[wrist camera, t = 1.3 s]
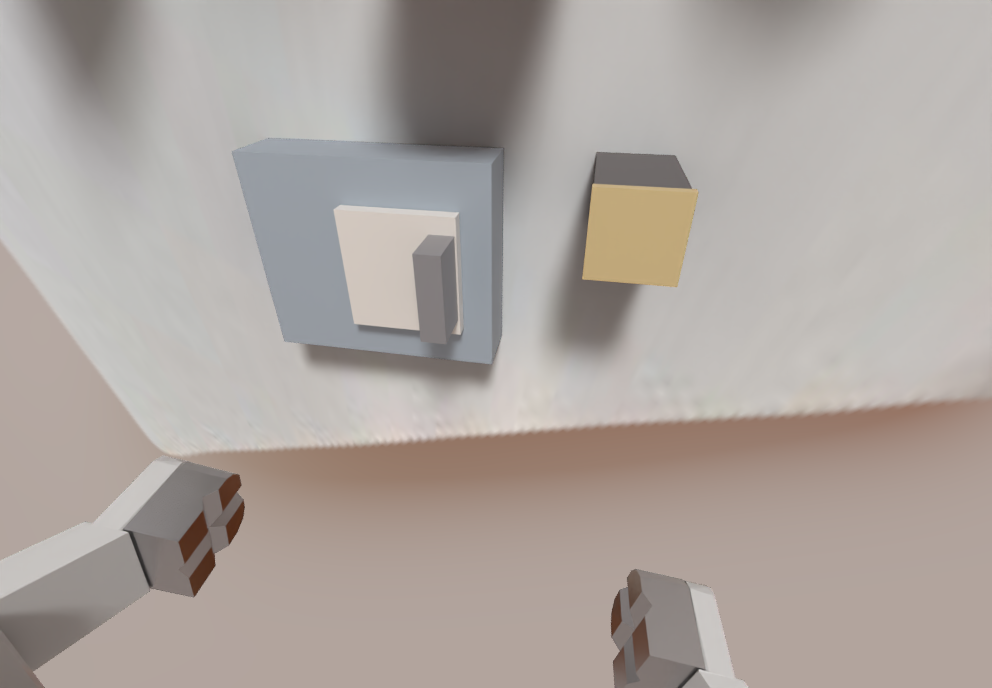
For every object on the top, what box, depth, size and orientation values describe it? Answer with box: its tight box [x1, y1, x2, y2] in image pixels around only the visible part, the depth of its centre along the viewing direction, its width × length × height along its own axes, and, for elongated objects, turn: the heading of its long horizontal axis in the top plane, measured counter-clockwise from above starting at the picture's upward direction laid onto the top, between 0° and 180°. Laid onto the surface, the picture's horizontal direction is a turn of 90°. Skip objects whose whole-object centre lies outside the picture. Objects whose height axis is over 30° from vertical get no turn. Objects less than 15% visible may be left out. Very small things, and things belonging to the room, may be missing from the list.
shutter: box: [333, 205, 464, 344], centre depth 27 cm, size 7×7×3 cm
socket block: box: [232, 138, 504, 364], centre depth 30 cm, size 14×12×4 cm
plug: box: [582, 152, 698, 287], centre depth 24 cm, size 4×4×7 cm
